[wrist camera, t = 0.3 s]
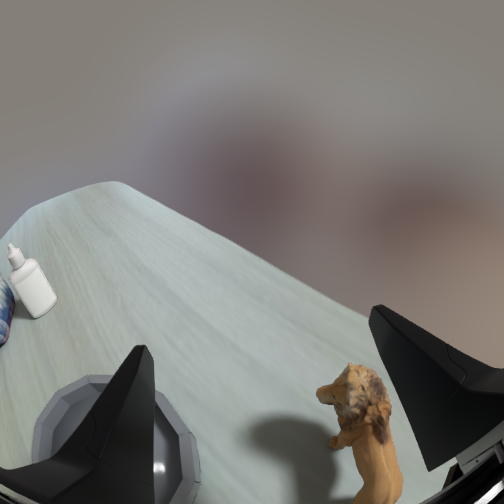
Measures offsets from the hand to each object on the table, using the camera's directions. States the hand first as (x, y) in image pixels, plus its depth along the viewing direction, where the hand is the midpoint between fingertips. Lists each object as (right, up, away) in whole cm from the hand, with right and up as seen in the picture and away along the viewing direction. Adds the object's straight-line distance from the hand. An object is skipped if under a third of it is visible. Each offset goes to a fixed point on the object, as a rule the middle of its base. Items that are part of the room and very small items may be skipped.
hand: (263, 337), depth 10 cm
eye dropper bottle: (-33, -6, +23) cm, 40 cm away
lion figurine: (+8, -15, +7) cm, 19 cm away
